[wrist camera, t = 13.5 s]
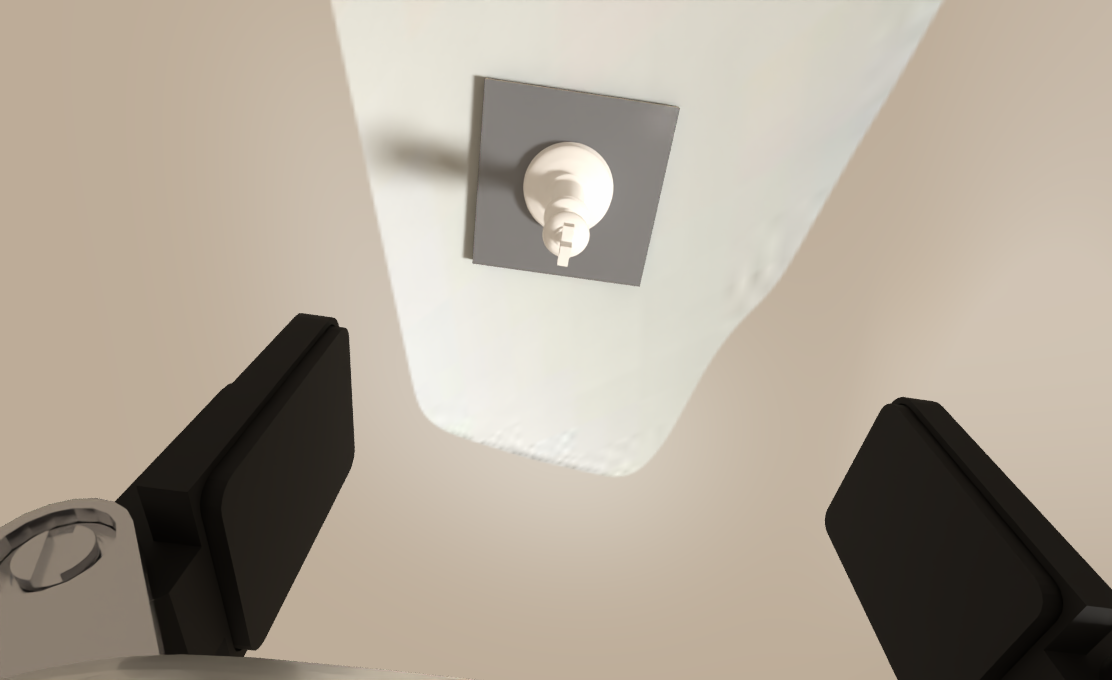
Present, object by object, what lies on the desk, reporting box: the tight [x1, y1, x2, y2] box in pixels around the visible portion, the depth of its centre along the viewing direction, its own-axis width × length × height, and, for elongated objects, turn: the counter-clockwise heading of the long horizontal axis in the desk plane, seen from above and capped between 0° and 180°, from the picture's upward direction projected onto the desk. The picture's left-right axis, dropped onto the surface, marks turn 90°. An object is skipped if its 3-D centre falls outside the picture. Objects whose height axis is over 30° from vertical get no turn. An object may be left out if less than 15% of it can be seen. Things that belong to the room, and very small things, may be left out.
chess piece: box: [523, 142, 613, 267], centre depth 27 cm, size 5×5×10 cm
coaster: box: [473, 78, 680, 287], centre depth 31 cm, size 10×10×1 cm
